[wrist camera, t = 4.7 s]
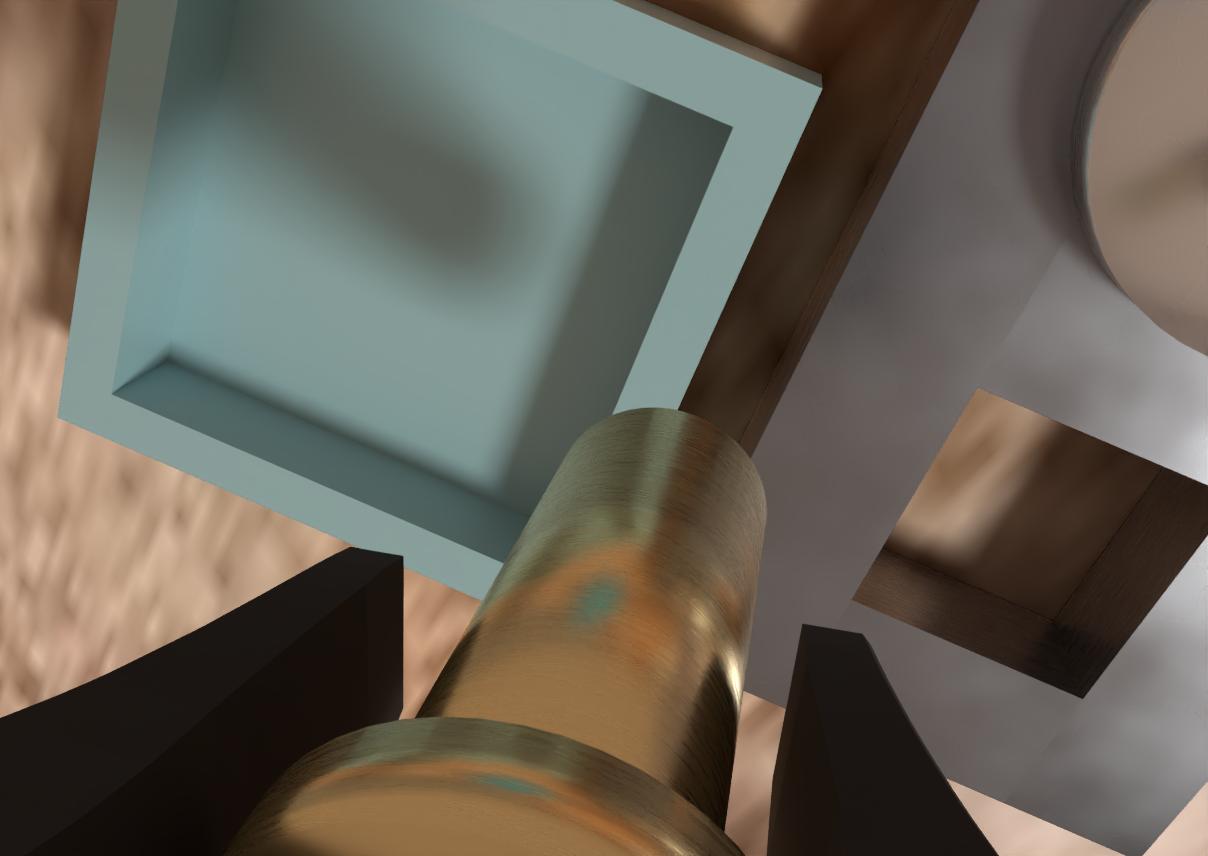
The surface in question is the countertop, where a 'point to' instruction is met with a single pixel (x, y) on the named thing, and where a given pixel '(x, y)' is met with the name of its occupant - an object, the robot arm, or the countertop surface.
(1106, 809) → the grey flat block
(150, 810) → the robot arm
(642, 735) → the pin
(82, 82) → the countertop surface
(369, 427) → the pin tray
